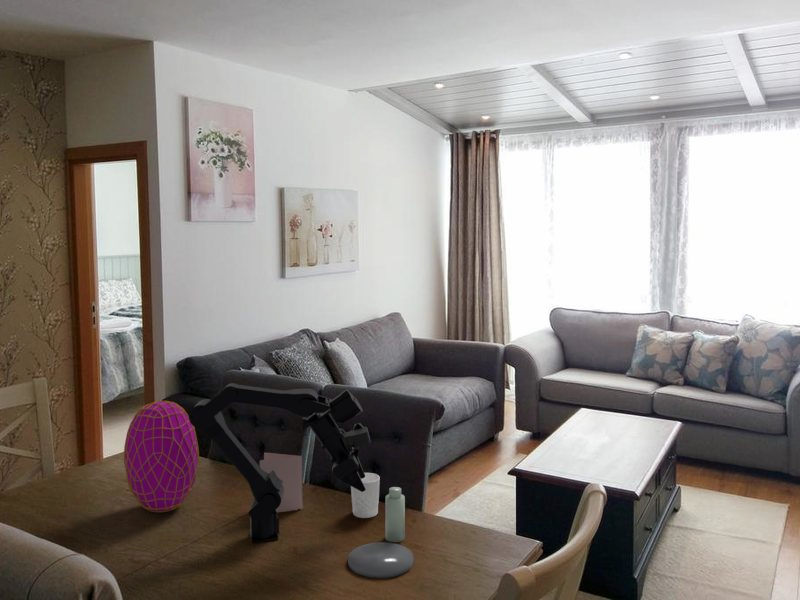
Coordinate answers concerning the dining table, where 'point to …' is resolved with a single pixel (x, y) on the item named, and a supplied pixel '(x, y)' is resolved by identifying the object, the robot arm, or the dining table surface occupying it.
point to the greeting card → (286, 478)
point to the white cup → (366, 497)
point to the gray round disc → (380, 560)
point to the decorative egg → (161, 456)
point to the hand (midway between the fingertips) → (363, 484)
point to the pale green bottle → (395, 515)
